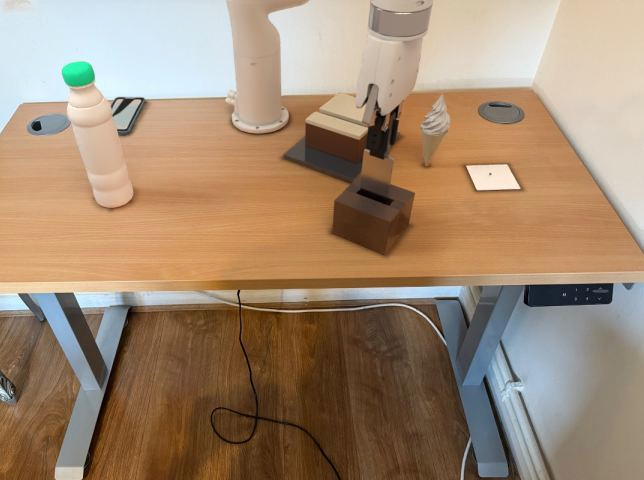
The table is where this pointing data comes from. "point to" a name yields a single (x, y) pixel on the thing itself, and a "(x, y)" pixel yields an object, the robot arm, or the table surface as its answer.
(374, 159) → the knife
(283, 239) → the table surface
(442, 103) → the ice cream cone
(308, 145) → the cake slice
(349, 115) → the cake
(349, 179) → the cake board
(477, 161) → the table surface
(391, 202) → the knife block
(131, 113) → the smartphone
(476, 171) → the coaster
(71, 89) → the water bottle
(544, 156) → the table surface
